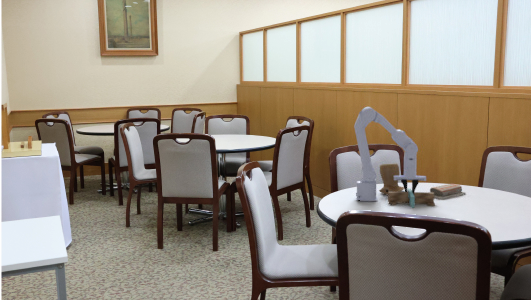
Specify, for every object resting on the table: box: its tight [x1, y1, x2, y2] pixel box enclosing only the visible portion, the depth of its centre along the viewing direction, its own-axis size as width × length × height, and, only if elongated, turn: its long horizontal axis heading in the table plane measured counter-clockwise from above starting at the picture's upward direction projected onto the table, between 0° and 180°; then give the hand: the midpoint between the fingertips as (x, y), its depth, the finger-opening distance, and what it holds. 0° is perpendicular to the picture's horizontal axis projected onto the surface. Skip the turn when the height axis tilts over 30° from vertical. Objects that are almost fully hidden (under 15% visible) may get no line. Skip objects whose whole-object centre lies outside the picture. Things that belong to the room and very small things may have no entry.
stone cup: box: [379, 162, 405, 196], centre depth 237 cm, size 15×12×15 cm
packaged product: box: [427, 183, 467, 201], centre depth 230 cm, size 18×5×10 cm
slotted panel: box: [407, 188, 415, 209], centre depth 217 cm, size 16×2×5 cm, turn 169°
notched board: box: [387, 191, 436, 207], centre depth 217 cm, size 20×8×5 cm, turn 79°
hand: (409, 195), depth 222 cm, fingers open, 2 cm apart
